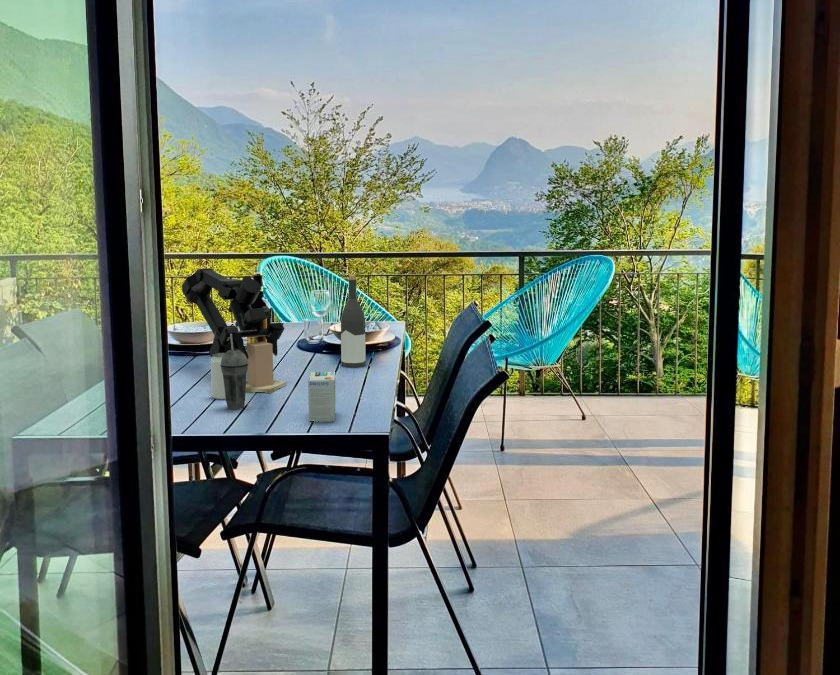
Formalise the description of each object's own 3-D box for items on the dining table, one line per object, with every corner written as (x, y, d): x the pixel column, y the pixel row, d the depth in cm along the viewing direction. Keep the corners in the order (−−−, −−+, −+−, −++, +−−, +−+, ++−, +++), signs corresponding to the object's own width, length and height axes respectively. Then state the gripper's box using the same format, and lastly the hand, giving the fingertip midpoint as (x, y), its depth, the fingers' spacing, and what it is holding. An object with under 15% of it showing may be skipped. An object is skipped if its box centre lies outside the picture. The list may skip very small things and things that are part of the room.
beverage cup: (254, 405, 235) (252, 331, 231) (240, 411, 228) (238, 335, 225) (231, 403, 237) (228, 330, 234) (216, 409, 230) (213, 334, 227)
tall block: (247, 383, 256) (246, 343, 254) (264, 381, 259) (263, 341, 257) (256, 387, 251) (255, 346, 249) (273, 384, 255) (272, 344, 253)
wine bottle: (370, 364, 291) (369, 274, 286) (356, 368, 284) (354, 276, 279) (351, 362, 295) (349, 273, 290) (336, 366, 288) (334, 275, 283)
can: (229, 400, 241) (228, 357, 239) (208, 399, 242) (206, 356, 240) (239, 395, 247) (237, 353, 245) (217, 394, 248) (216, 352, 246)
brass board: (234, 391, 252) (234, 387, 251) (252, 383, 262) (252, 379, 262) (269, 393, 249) (269, 389, 248) (286, 385, 259) (286, 381, 259)
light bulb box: (310, 412, 227) (309, 371, 226) (336, 411, 228) (335, 371, 226) (308, 422, 217) (307, 380, 215) (335, 422, 217) (335, 379, 216)
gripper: (222, 299, 249) (240, 343, 242) (280, 295, 260) (299, 336, 253) (211, 324, 256) (229, 366, 249) (269, 318, 267) (287, 359, 260)
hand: (262, 356), depth 253 cm, fingers open, 9 cm apart
